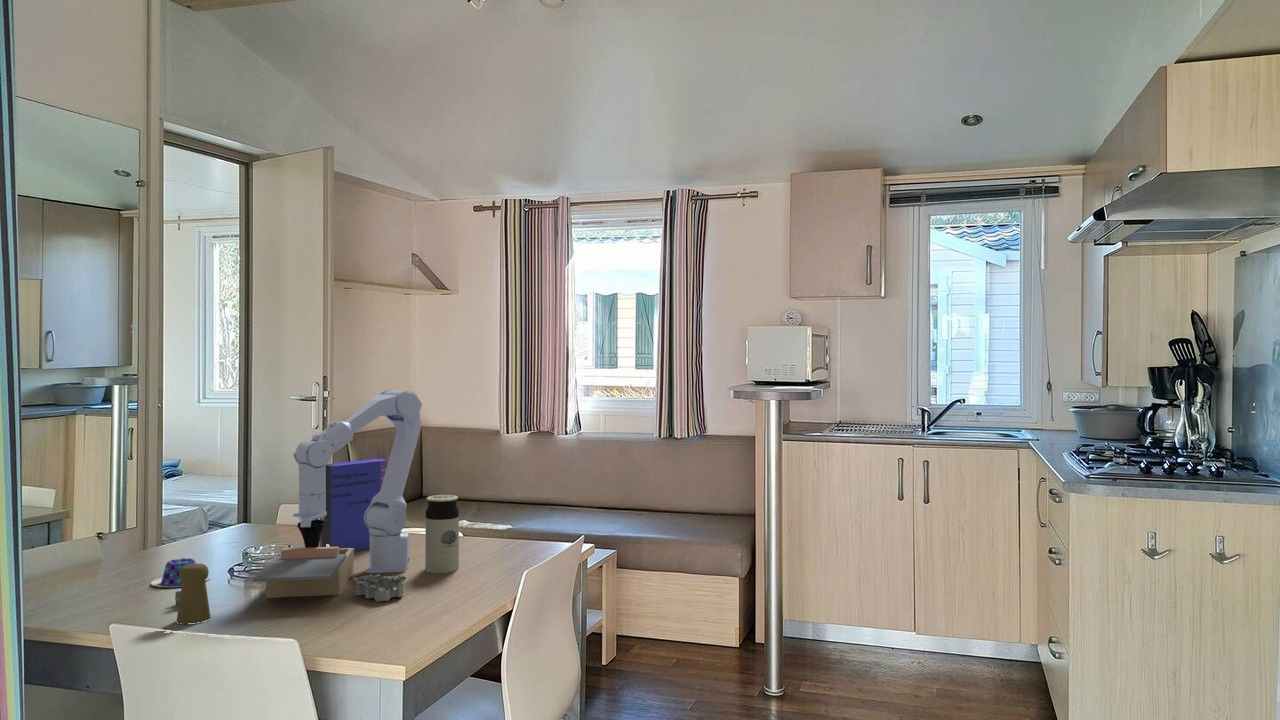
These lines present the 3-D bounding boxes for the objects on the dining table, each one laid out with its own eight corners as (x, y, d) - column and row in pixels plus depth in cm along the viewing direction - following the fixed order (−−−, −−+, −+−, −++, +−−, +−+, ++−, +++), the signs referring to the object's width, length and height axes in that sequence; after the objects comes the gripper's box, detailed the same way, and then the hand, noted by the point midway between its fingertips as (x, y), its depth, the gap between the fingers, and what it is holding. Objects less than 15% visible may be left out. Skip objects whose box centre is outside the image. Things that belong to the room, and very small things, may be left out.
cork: (184, 615, 172) (184, 561, 172) (215, 615, 172) (215, 560, 172) (170, 625, 166) (170, 568, 166) (203, 624, 166) (203, 568, 166)
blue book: (375, 543, 239) (375, 458, 239) (386, 546, 236) (386, 459, 236) (319, 555, 225) (320, 464, 225) (330, 557, 222) (331, 465, 222)
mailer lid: (346, 556, 197) (346, 545, 197) (329, 578, 177) (329, 566, 177) (277, 558, 194) (277, 547, 194) (252, 581, 174) (252, 568, 174)
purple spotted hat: (141, 584, 197) (141, 561, 197) (195, 574, 206) (195, 552, 206) (164, 593, 189) (164, 569, 189) (219, 582, 199) (219, 559, 199)
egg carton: (408, 595, 185) (408, 576, 185) (378, 604, 179) (377, 585, 179) (381, 584, 192) (381, 566, 192) (351, 593, 186) (350, 574, 186)
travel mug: (422, 568, 211) (422, 495, 211) (454, 565, 215) (455, 493, 215) (428, 576, 204) (429, 500, 204) (462, 572, 207) (462, 498, 207)
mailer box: (353, 572, 207) (353, 548, 207) (338, 595, 187) (338, 568, 187) (288, 575, 204) (288, 550, 204) (266, 598, 185) (266, 570, 185)
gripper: (301, 488, 202) (300, 546, 202) (286, 498, 187) (285, 560, 187) (332, 488, 203) (332, 545, 203) (319, 498, 189) (319, 559, 189)
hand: (312, 552), depth 195 cm, fingers closed
